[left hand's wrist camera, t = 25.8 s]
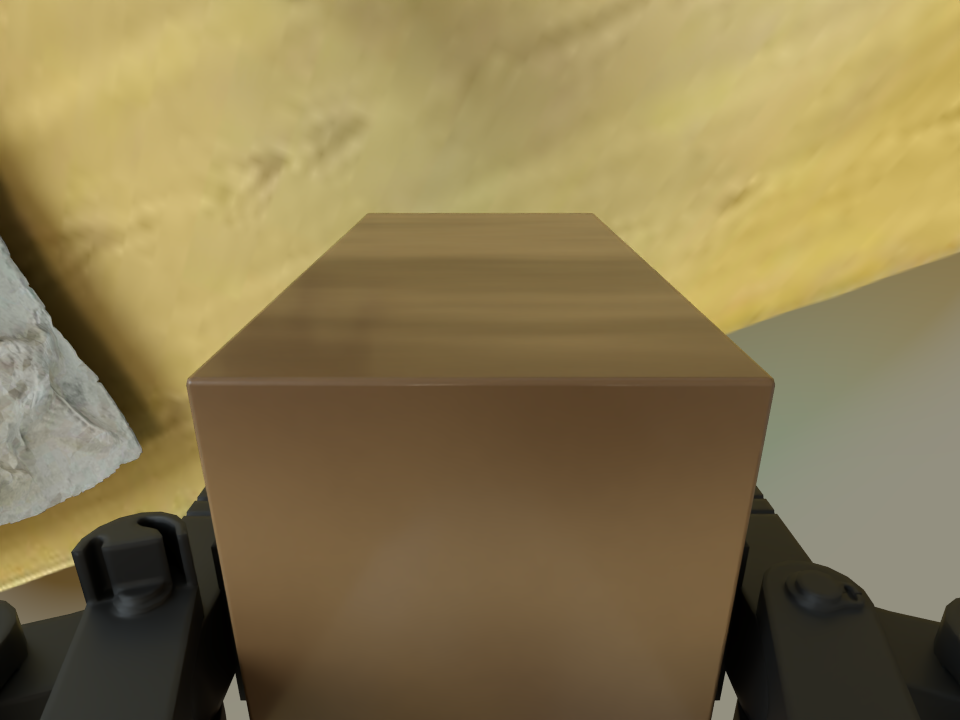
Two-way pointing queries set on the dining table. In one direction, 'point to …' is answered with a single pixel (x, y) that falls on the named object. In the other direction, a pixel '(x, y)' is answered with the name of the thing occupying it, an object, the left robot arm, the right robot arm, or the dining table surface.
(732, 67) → the dining table surface
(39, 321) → the grey bumpy flat tray
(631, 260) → the block
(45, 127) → the dining table surface
